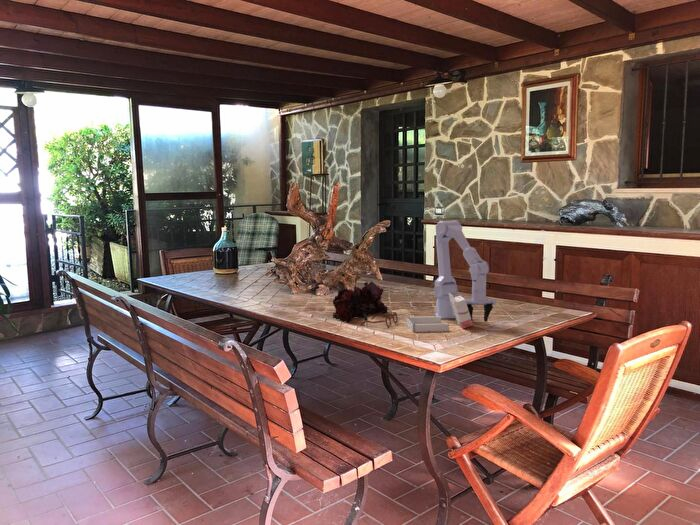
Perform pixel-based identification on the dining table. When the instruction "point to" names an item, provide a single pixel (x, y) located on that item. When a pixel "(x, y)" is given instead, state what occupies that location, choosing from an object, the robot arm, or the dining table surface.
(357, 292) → the flower arrangement
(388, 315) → the glasses
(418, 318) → the sorting bay
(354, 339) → the dining table surface
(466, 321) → the ink cartridge box
